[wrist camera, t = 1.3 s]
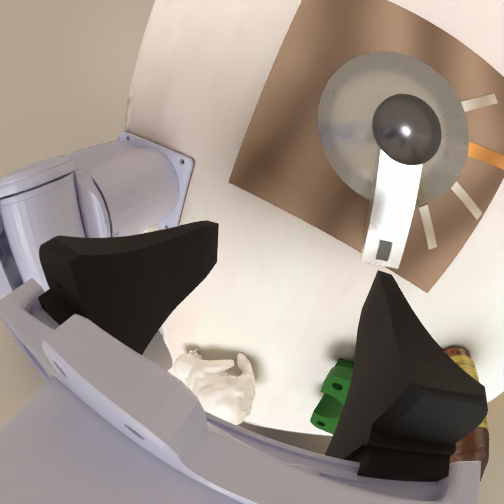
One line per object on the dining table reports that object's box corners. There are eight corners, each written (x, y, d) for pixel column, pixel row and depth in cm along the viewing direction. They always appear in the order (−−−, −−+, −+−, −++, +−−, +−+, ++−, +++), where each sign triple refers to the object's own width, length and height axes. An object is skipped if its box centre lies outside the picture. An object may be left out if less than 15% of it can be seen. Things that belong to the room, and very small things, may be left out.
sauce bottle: (439, 386, 23) (429, 542, 7) (411, 367, 23) (391, 547, 7) (482, 356, 19) (494, 524, 3) (457, 332, 20) (469, 533, 3)
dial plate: (236, 178, 21) (227, 182, 20) (317, -16, 11) (313, -26, 10) (424, 283, 19) (427, 294, 18) (522, 105, 9) (532, 105, 8)
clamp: (353, 328, 29) (333, 356, 21) (399, 343, 26) (395, 378, 18) (321, 405, 31) (293, 444, 23) (360, 421, 28) (341, 464, 20)
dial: (321, 46, 13) (309, 24, 9) (466, 77, 10) (494, 68, 6) (310, 228, 19) (296, 257, 16) (438, 255, 16) (453, 288, 12)
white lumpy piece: (239, 438, 26) (161, 400, 31) (270, 388, 32) (196, 361, 38) (231, 415, 23) (145, 372, 28) (268, 358, 30) (186, 331, 35)
